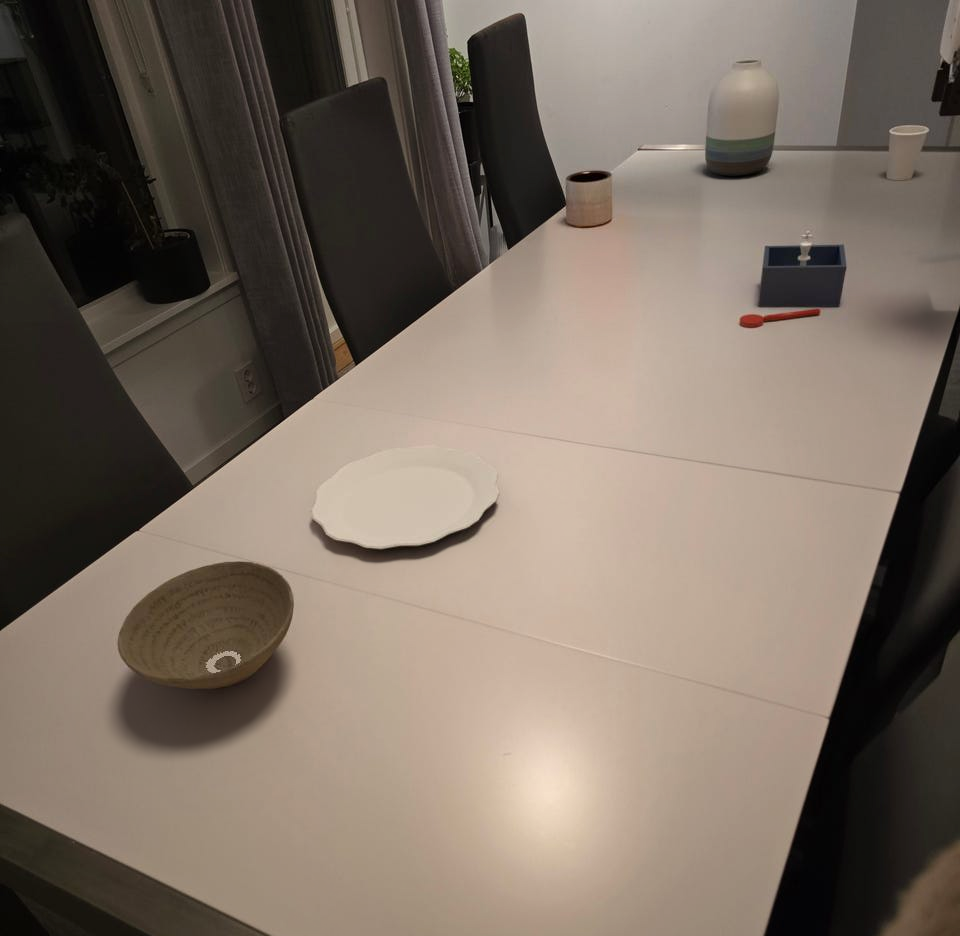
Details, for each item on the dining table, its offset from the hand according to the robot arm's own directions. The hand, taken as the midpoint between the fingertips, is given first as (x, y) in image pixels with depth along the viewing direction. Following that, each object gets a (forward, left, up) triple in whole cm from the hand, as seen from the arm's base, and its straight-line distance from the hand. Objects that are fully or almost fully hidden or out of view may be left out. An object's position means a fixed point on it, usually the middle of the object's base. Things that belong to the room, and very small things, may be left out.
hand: (946, 108), depth 121 cm
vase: (+31, -97, -31) cm, 106 cm away
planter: (+63, -58, -31) cm, 91 cm away
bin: (+16, -10, -30) cm, 36 cm away
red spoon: (+20, +2, -30) cm, 36 cm away
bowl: (+75, +100, -31) cm, 129 cm away
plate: (+66, +66, -31) cm, 98 cm away
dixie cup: (-7, -86, -31) cm, 92 cm away
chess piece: (+16, -10, -30) cm, 35 cm away
